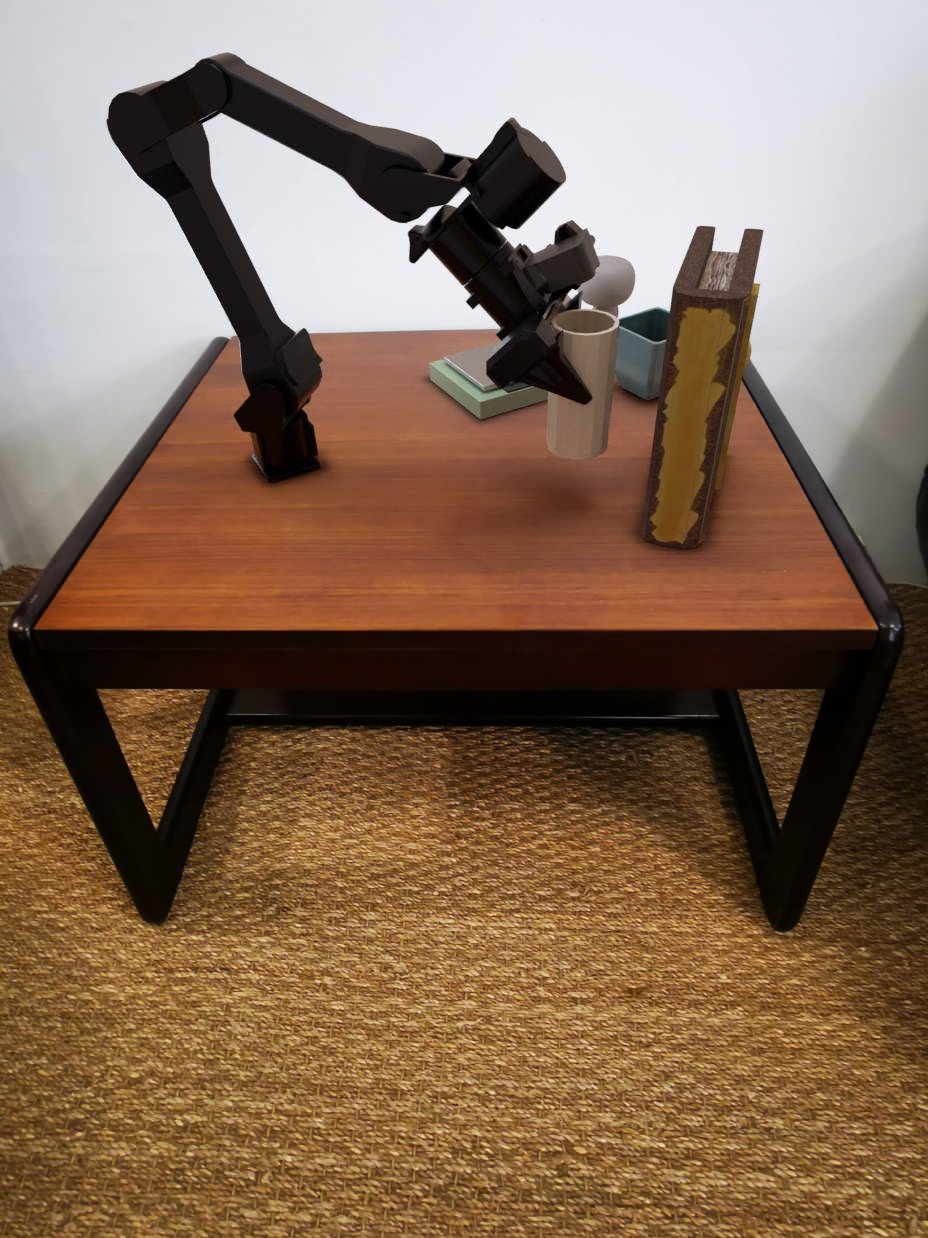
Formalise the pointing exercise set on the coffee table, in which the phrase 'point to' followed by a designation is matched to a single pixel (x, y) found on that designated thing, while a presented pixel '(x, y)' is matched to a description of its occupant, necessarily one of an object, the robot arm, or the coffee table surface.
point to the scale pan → (473, 365)
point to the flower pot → (642, 351)
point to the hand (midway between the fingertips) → (594, 386)
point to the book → (699, 385)
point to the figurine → (609, 284)
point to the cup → (594, 360)
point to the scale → (483, 392)
